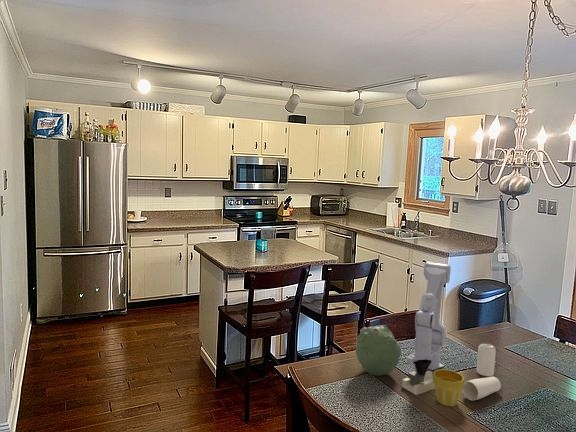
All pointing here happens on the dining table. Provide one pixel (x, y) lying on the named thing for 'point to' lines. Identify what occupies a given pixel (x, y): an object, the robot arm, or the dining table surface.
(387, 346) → the cabbage
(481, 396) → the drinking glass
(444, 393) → the plant pot
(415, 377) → the fader tab
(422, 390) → the slider console
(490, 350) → the can
